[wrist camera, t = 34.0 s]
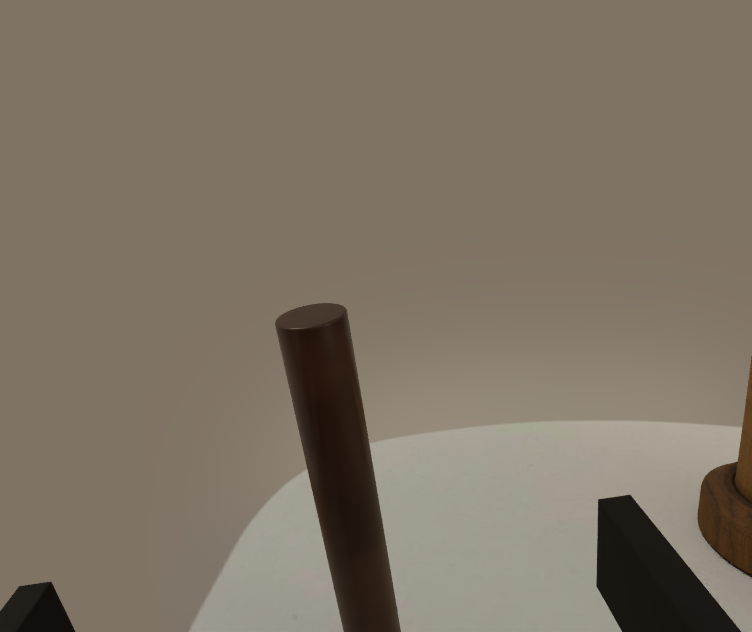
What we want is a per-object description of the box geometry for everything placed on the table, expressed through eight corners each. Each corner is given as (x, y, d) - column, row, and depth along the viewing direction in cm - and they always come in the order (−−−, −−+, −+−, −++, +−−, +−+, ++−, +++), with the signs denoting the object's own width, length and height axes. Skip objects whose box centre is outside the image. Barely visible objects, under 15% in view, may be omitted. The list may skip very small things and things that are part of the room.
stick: (322, 791, 17) (197, 357, 11) (340, 659, 21) (256, 297, 16) (452, 792, 17) (389, 338, 11) (444, 657, 21) (395, 282, 15)
